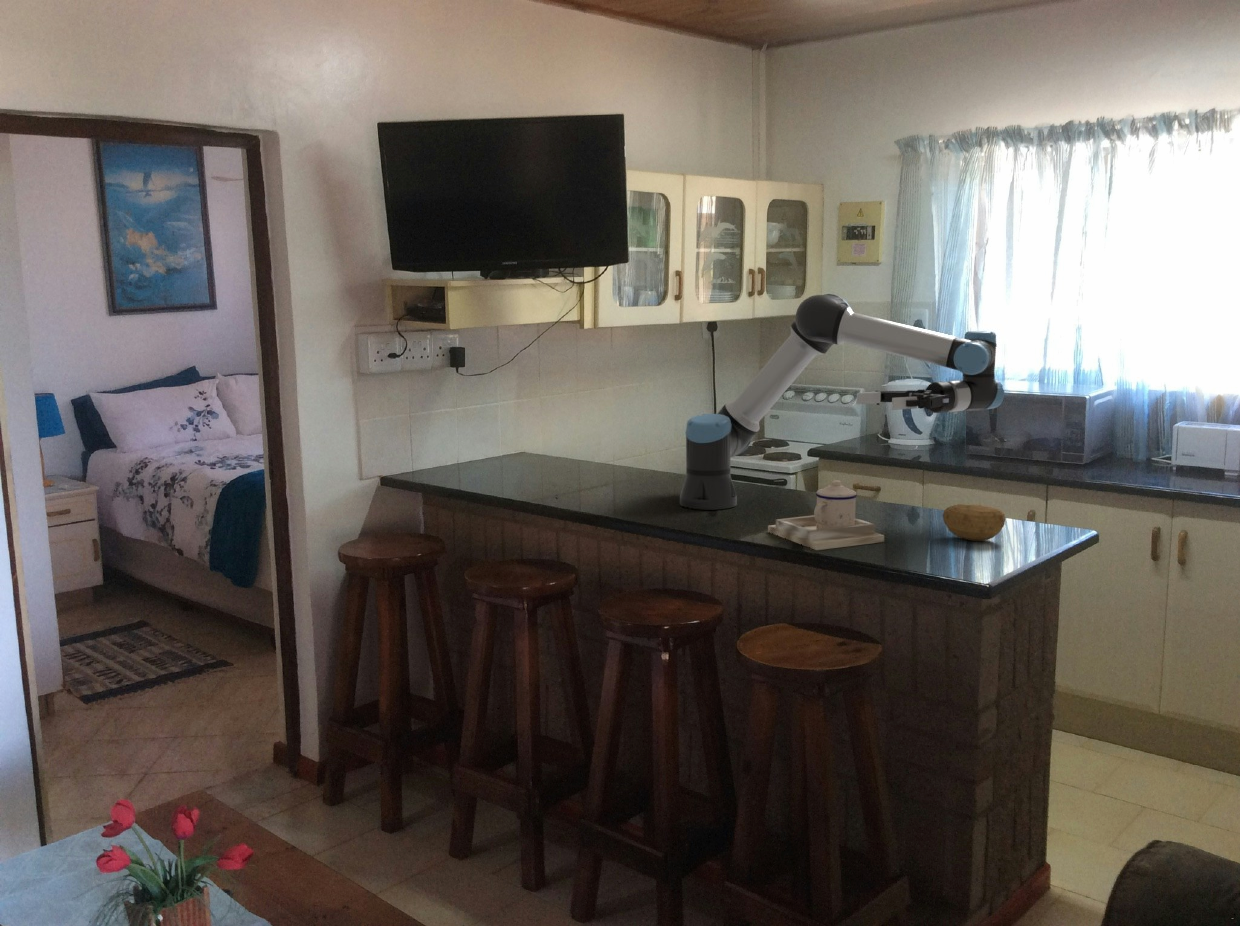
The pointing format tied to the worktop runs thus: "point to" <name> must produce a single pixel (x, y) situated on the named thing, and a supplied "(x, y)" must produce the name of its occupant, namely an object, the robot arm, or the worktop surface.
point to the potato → (974, 521)
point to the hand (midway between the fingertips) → (874, 401)
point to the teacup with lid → (835, 506)
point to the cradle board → (825, 533)
